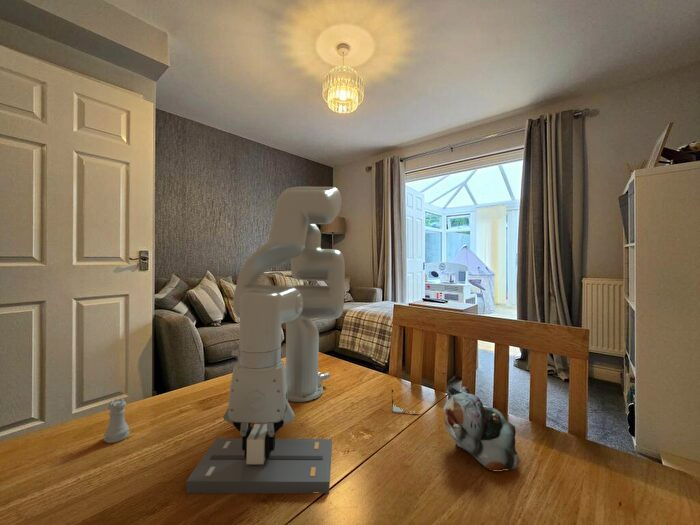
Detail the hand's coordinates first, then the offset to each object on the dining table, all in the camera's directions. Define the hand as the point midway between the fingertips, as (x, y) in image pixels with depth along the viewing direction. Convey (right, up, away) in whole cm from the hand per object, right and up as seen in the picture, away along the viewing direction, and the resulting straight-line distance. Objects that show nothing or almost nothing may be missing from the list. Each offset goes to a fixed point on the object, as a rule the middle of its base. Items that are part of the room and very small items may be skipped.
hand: (258, 452), depth 57 cm
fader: (0, -1, 0) cm, 1 cm away
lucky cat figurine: (+44, -4, +6) cm, 45 cm away
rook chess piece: (-33, -2, +9) cm, 34 cm away
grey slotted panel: (+2, -3, 0) cm, 3 cm away
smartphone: (+33, -4, +28) cm, 44 cm away
